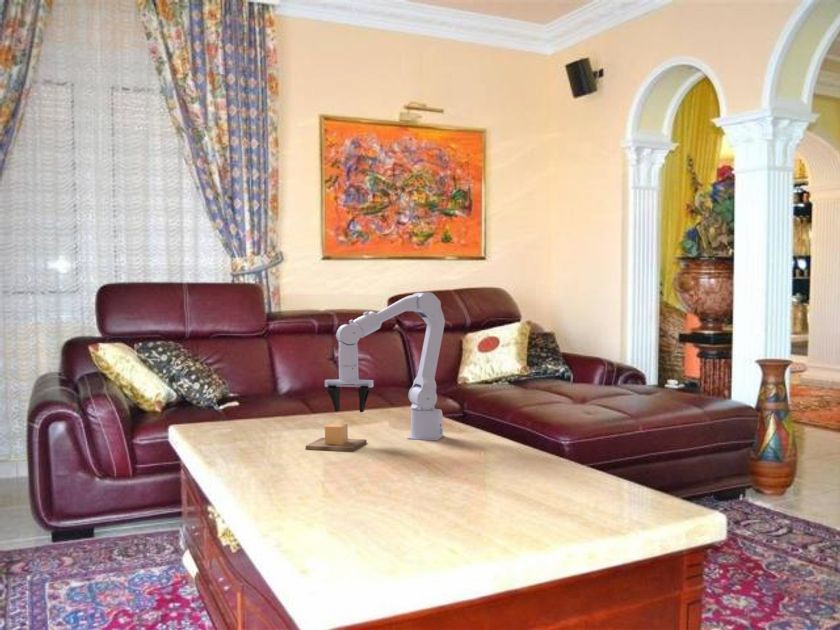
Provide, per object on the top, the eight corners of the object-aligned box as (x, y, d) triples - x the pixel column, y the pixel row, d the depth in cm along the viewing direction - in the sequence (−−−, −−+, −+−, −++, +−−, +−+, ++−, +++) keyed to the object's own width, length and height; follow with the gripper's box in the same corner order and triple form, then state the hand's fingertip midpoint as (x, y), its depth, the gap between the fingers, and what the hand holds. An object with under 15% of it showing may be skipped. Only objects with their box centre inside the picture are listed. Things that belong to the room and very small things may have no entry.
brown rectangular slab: (366, 442, 217) (366, 426, 217) (352, 451, 205) (352, 434, 205) (322, 441, 221) (321, 425, 221) (305, 449, 209) (305, 432, 209)
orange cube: (347, 441, 215) (347, 424, 215) (341, 444, 210) (341, 427, 210) (331, 440, 216) (331, 423, 216) (325, 443, 211) (324, 426, 211)
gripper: (320, 366, 215) (321, 413, 215) (367, 366, 211) (368, 414, 212) (329, 364, 222) (330, 409, 222) (375, 364, 218) (376, 410, 218)
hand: (349, 411), depth 217 cm, fingers open, 7 cm apart
